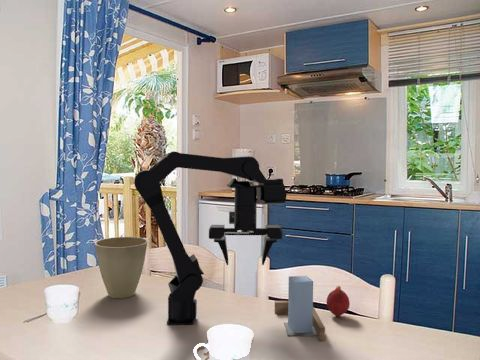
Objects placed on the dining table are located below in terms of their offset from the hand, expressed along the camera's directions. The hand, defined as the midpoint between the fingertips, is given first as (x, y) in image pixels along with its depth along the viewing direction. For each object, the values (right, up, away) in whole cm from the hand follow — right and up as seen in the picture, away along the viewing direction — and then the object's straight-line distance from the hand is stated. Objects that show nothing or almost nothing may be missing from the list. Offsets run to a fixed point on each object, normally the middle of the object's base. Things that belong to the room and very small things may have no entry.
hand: (245, 264), depth 105 cm
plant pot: (-36, -12, +15) cm, 41 cm away
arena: (+12, -13, -7) cm, 19 cm away
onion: (+24, -14, -1) cm, 27 cm away
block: (+13, -13, -9) cm, 21 cm away
